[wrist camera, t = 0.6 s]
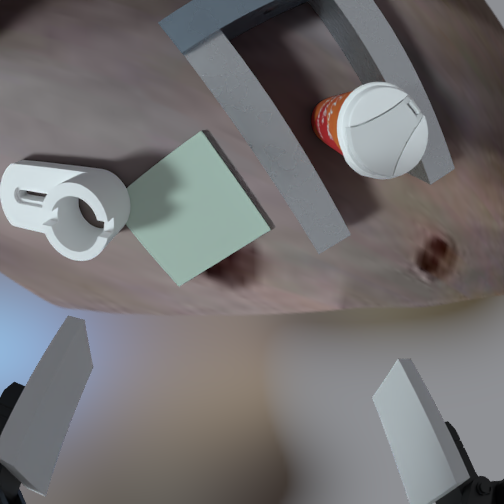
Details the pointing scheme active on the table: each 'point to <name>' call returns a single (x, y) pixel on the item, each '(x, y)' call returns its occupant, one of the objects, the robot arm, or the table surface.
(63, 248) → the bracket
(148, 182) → the mat
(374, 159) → the paper cup
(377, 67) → the vise
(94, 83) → the table surface
